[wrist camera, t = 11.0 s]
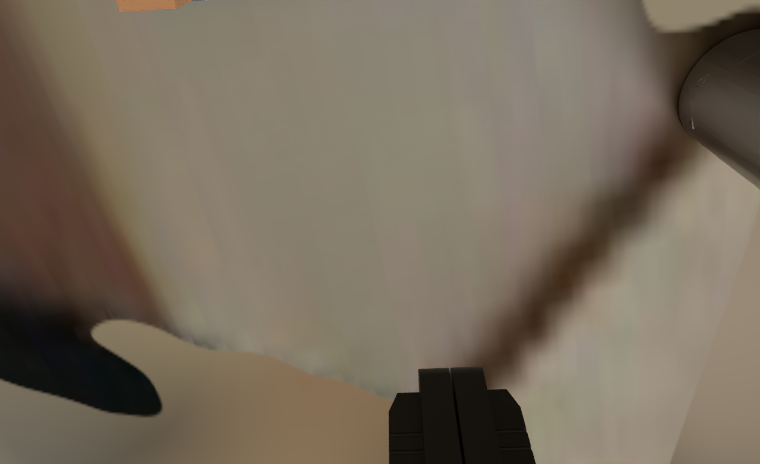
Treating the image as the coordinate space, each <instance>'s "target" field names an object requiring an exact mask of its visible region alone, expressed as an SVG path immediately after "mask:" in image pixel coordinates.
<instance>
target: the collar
mask: <svg viewBox="0 0 760 464" xmlns="http://www.w3.org/2000/svg"><path fill="white" fill-rule="evenodd" d="M116 1H117V4H118V8H119V11H120V12H128V11H143V10H159V9H175V8H178V7H180V6H182V5H184V4H186V3H188V2H190V1H192V0H116Z"/></svg>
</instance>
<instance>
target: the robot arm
mask: <svg viewBox="0 0 760 464" xmlns="http://www.w3.org/2000/svg"><path fill="white" fill-rule="evenodd" d="M679 117H680V120H681V122H682V125H683V127H684V129H685V130H686V131H687V133H688V134H689V135H690V136H692V137H693V138H694V139H695V140H697V141H698V142H699V143H701V144H702V145H703V146H704V147H706V148H707V149H708V150H710V151H711V152H712V153H713V154H715V155H716V156H717V157H718V158H719V159H721V160H722V161H723V162H725V163H726V164H727V165H729V166H730V167H731V168H733V169H734V170H735V171H737V172H738V173H739V174H740V175H742V176H743V177H744V178H746V179H747V180H748V181H750V182H751V183H752V184H754V185H755V186H756V187H757V188H759V189H760V29H753V30H749V31H745V32H741V33H738V34H736V35H734V36H732V37H729V38H727V39H725V40H724V41H722V42H721V43H719V44H718V45H716V46H714V47H713V48H712V49H711V50H710V51H708V52H707V53H706V54H705V55H704V56H703V57H702V58H701V59H700V60H699V61H698V63H697V64H696V65H695V66H694V67H693V69H692V70H691V72H690V73H689V75H688V77H687V79H686V80H685V82H684V85H683V88H682V91H681V93H680V99H679ZM418 374H419V392H414V393H397V395H396V397H395V400H394V402H393V404H392V406H391V408H390V410H389V464H536V463H535V459H534V456H533V452H532V450H531V444H530V441H529V437H528V433H527V432H526V426H525V422H524V418H523V415H522V411H521V407H520V406H519V405H518V403H517V402H516V401H515V400H514V398H513V397H512V396H511V394H510V393H509V392H508V390H507V389H497V390H487V386H486V381H485V376H484V372H483V369H482V367H455V368H451V370H450V371H449V368H432V369H418Z"/></svg>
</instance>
